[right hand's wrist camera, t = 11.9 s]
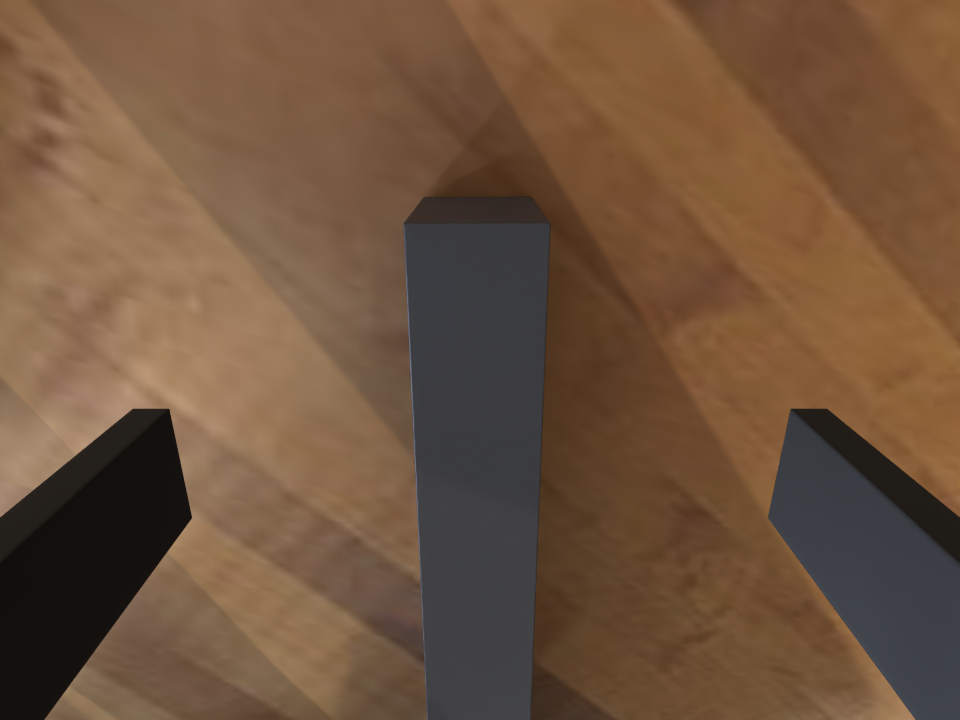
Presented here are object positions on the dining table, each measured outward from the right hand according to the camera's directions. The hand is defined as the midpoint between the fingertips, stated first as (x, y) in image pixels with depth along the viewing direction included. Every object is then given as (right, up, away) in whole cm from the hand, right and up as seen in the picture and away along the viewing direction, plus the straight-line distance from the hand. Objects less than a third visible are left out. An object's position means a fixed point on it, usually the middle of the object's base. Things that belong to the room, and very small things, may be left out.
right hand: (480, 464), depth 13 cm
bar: (0, -14, +24) cm, 28 cm away
